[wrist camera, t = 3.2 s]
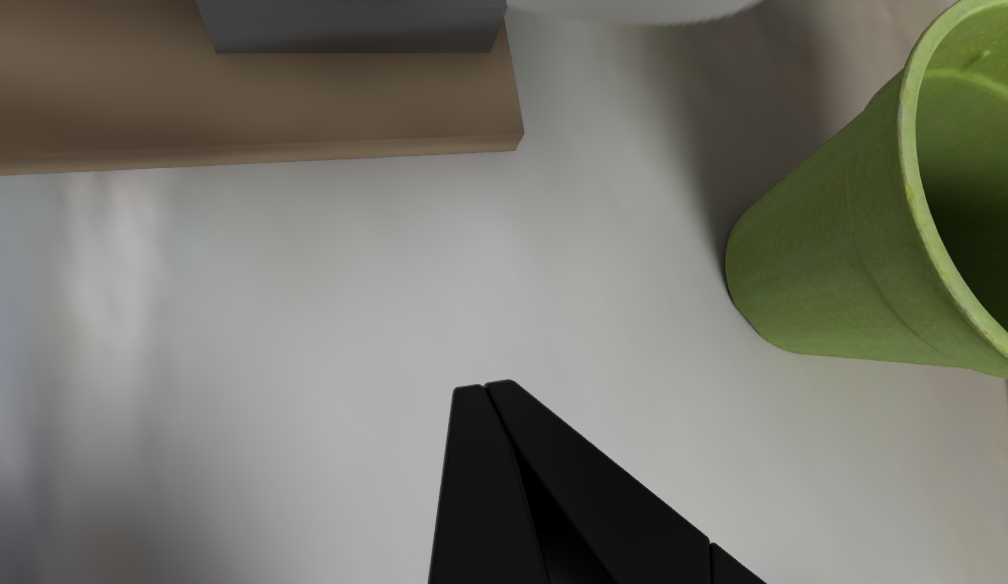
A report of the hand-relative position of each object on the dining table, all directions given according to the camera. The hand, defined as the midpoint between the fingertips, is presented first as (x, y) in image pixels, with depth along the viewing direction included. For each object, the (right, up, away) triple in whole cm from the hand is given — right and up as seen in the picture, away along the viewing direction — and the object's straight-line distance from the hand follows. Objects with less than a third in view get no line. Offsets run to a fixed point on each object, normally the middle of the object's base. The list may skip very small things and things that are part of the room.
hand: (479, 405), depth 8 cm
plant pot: (+13, +2, +18) cm, 23 cm away
